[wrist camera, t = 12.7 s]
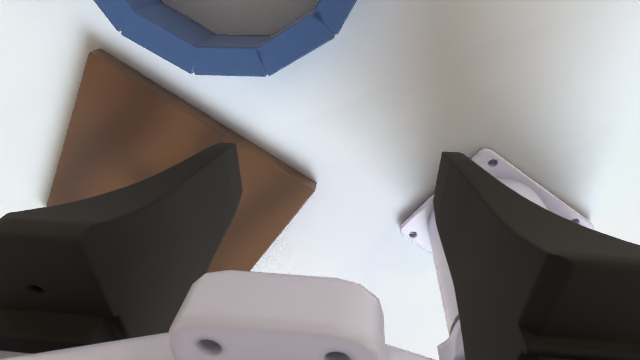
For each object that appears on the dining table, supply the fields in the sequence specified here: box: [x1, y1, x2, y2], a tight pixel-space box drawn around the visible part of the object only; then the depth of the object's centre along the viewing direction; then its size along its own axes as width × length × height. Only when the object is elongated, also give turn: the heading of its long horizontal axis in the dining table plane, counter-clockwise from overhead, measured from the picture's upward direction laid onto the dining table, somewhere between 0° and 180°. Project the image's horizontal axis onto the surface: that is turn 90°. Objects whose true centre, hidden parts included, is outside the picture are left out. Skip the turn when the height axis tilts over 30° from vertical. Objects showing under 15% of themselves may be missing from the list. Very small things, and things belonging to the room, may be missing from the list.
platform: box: [47, 49, 317, 273], centre depth 25 cm, size 15×15×4 cm
